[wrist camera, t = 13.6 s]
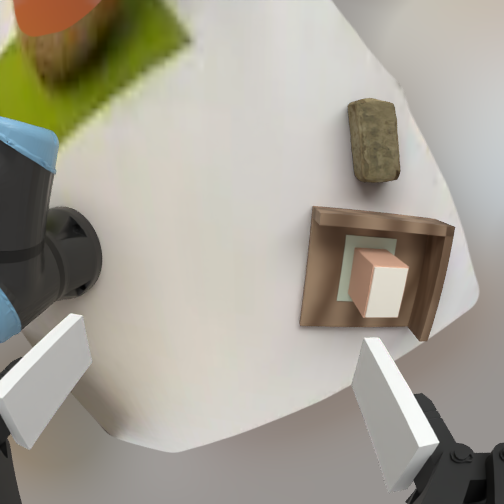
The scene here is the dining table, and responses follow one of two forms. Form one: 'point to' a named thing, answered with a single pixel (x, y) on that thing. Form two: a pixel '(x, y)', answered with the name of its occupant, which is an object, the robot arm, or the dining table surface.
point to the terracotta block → (377, 282)
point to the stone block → (374, 140)
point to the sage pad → (348, 256)
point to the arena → (407, 250)
